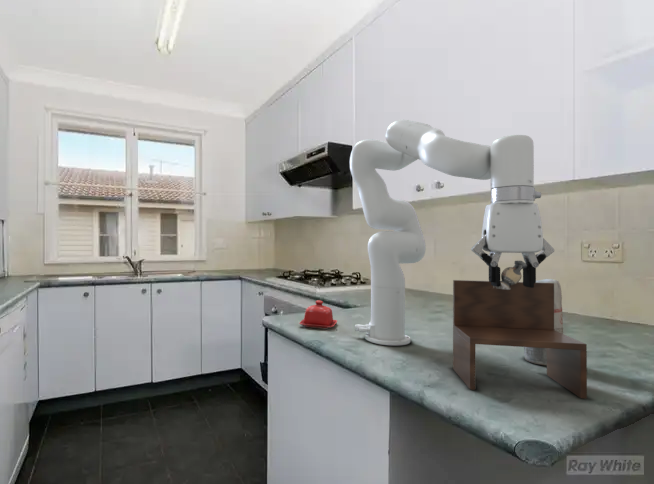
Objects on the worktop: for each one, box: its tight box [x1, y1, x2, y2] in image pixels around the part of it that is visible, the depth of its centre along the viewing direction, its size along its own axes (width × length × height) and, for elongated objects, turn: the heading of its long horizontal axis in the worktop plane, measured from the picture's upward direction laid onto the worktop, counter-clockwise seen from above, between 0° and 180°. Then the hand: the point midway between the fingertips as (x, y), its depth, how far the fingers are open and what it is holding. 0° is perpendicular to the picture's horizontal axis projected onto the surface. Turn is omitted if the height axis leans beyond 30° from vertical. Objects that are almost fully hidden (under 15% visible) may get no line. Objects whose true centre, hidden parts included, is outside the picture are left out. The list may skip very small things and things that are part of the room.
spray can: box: [523, 278, 564, 366], centre depth 90 cm, size 8×8×20 cm
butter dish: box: [299, 299, 338, 330], centre depth 125 cm, size 12×12×8 cm
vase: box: [495, 260, 529, 290], centre depth 75 cm, size 5×5×6 cm
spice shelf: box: [452, 279, 588, 399], centre depth 76 cm, size 20×12×20 cm, turn 79°
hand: (511, 285), depth 76 cm, fingers closed on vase, 5 cm apart
